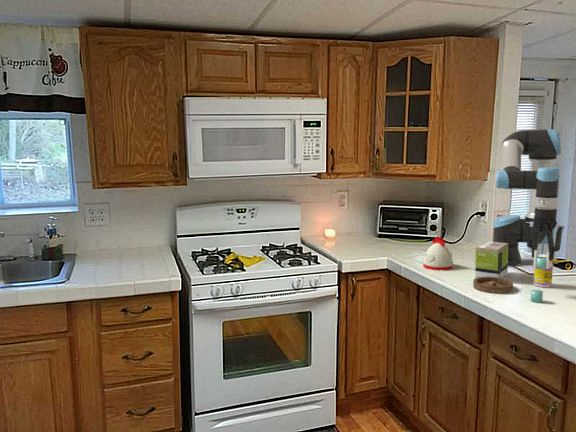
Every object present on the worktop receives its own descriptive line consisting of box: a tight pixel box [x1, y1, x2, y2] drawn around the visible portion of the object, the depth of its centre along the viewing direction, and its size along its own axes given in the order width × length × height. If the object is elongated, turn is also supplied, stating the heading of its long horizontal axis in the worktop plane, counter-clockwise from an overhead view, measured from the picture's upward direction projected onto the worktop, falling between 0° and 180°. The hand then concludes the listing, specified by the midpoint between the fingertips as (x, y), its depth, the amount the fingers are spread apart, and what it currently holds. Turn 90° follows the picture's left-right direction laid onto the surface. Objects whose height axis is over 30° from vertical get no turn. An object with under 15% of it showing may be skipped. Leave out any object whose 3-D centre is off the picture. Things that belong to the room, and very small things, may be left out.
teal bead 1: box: [536, 257, 547, 270], centre depth 191 cm, size 4×4×4 cm
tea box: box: [474, 240, 509, 279], centre depth 217 cm, size 15×10×15 cm, turn 141°
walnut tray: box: [473, 277, 514, 295], centre depth 202 cm, size 15×15×3 cm
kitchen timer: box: [422, 235, 454, 271], centre depth 235 cm, size 14×14×15 cm
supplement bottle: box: [533, 253, 554, 288], centre depth 203 cm, size 7×7×13 cm
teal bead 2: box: [530, 289, 544, 304], centre depth 185 cm, size 4×4×4 cm
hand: (541, 266), depth 191 cm, fingers closed on teal bead 1, 4 cm apart
